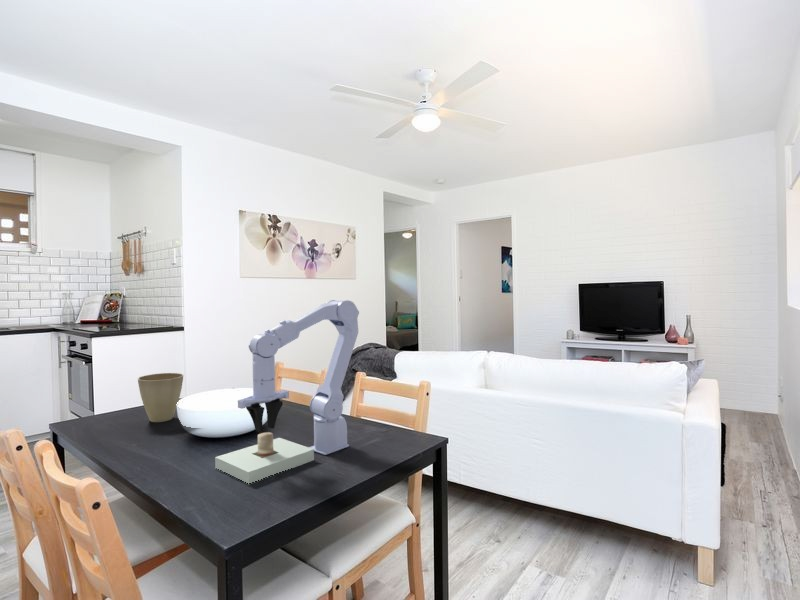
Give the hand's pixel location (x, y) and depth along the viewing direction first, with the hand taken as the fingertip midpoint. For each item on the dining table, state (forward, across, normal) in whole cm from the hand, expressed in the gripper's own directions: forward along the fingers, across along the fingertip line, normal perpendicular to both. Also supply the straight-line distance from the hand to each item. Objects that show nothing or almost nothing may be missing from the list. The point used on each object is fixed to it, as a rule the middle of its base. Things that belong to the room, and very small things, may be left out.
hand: (265, 429), depth 122 cm
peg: (+9, 0, 0) cm, 9 cm away
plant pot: (+10, +1, +68) cm, 69 cm away
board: (+9, 0, 0) cm, 9 cm away
